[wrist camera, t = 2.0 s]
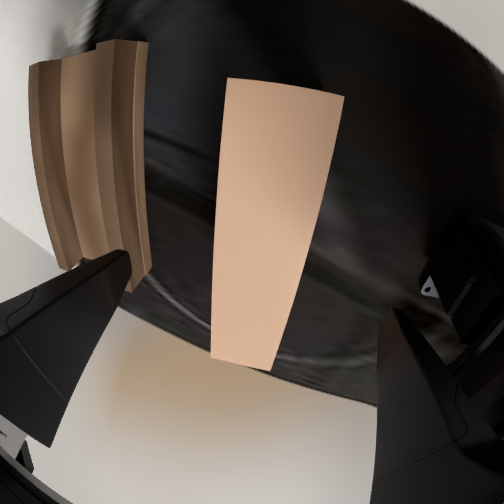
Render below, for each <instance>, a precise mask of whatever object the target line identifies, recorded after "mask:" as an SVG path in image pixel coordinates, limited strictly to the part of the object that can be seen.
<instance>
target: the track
mask: <svg viewBox="0 0 504 504" xmlns="http://www.w3.org/2000/svg"><path fill="white" fill-rule="evenodd" d="M148 44H149V43H147V42H140V41H138V42H137V41H129V40H120V39H113V40H109V41H104V42H100V43H97V45H96V50H92V51H88V52H85V53H81V54H77V55H74V56H70V57H67V58H64V59H59V60H50V61H42V62H38V63H35V64H33V65H31V66H29V84H28V101H29V124H30V137H31V146H32V155H33V162H34V169H35V175H36V181H37V186H38V191H39V196H40V201H41V205H42V210H43V214H44V218H45V222H46V226H47V229H48V233H49V236H50V240H51V243H52V247H53V250H54V253H55V256H56V259H57V262H58V265H59V268H61V269H64V270H66V271H70V270H71V269H72V268H73V267H74V266H75V265H76V264H77V263H78V262H79V261H80V260H81V259H82V258H83V257H85V258H88V259H92V260H94V259H96V258H98V257H100V256H103V255H105V254H107V253H109V252H112V251H114V250H116V249H122V250H126V251H128V252H129V254H130V260H131V265H132V275H131V278H130V280H129V282H128V284H127V286H126V288H125V291H128V292H131V293H132V292H133V291H134V289H135V288H136V287H137V285H138V284H139V282H140V281H141V280H142V278H143V277H144V276H145V275H147V273H148V272H149V271H150V269H151V268H152V262H151V254H150V245H149V235H148V225H147V213H146V198H145V180H144V95H145V77H146V64H147V53H148Z"/></svg>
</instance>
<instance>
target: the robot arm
mask: <svg viewBox="0 0 504 504" xmlns="http://www.w3.org/2000/svg"><path fill="white" fill-rule="evenodd" d="M462 216H464V218H463V219H462V220H461V217H462ZM131 275H132V265H131V260H130V254H129V252H128V251H126V250H122V249H116V250H114V251H112V252H109V253H107V254H105V255H103V256H100V257H98V258H96V259H94V260H91V261H89V262H87V263H85V264H83V265H80V266H78V267H76V268H74V269H72V270H70V271H67V272H65V273H63V274H61V275H59V276H57V277H55V278H53V279H51V280H49V281H47V282H45V283H42V284H40V285H38V286H37V287H34V288H32V289H30V290H28V291H27V292H24V293H22V294H20V295H18V296H16V297H14V298H11V299H9V300H7V301H5V302H2V303H0V504H72V503H71V502H70V501H68V500H66V499H65V498H63V497H62V496H60V495H59V494H58V493H56V492H55V491H53V490H52V489H51V488H49V487H48V486H46V485H45V484H44V483H42V482H41V481H40V480H39V479H37V478H36V477H35V476H34V475H32V472H33V470H34V467H33V463H32V460H31V457H30V453H29V449H28V445H27V441H26V440H25V438H26V436H27V434H28V435H29V436H31V437H32V438H34V439H35V440H37V441H39V442H40V443H42V444H43V445H45V446H47V447H48V448H50V447H51V445H52V442H53V440H54V437H55V435H56V432H57V429H58V427H59V424H60V422H61V419H62V417H63V415H64V413H65V410H66V408H67V405H68V403H69V401H70V398H71V396H72V394H73V392H74V390H75V388H76V385H77V383H78V381H79V379H80V377H81V375H82V373H83V371H84V369H85V366H86V365H87V363H88V361H89V359H90V357H91V355H92V353H93V351H94V349H95V347H96V345H97V343H98V341H99V339H100V337H101V336H102V334H103V332H104V330H105V328H106V327H107V325H108V323H109V321H110V319H111V318H112V316H113V314H114V312H115V310H116V308H117V306H118V304H119V302H120V299H121V297H122V295H123V293H124V291H125V288H126V286H127V284H128V282H129V280H130V278H131ZM426 287H428V288H426ZM425 288H426V289H425ZM420 290H421V293H422V294H423V295H427V296H432V297H437V298H440V300H441V302H442V305H443V307H444V310H445V312H446V315H447V317H449V318H451V321H452V323H453V326H454V328H455V331H456V334H457V337H458V340H459V342H460V344H466V347H467V348H466V349H465V350H464V351H463V352H462V353H461V354H460V355H459V356H458V357H457V358H456V359H455V360H454V361H453V362H452V363H451V364H448V365H447V366H446V365H445V364H444V362H443V361H442V360H441V358H440V357H439V356H438V354H437V353H436V352H435V350H434V349H433V348H432V346H431V345H430V344H429V342H428V341H427V340H426V339H425V337H424V336H423V335H422V333H421V332H420V331H419V330H418V328H417V327H416V326H415V325H414V324H413V322H412V321H411V320H410V319H409V317H408V316H407V315H406V314H405V313H404V311H403V310H401V309H397V308H390V309H389V311H388V312H387V314H386V316H385V317H384V319H383V320H382V322H381V324H380V326H379V337H378V357H377V435H376V452H375V465H374V475H373V483H372V491H371V498H370V504H504V226H502V225H500V224H498V223H495V222H493V221H491V220H489V219H486V218H484V217H482V216H479V215H477V214H475V213H472V212H470V211H467V210H465V209H460V210H458V211H457V212H456V214H455V216H454V219H453V221H452V223H451V226H450V228H449V230H448V232H447V234H446V237H445V239H444V240H443V242H442V244H441V246H440V248H439V250H438V252H437V254H436V256H435V258H434V260H433V262H432V264H431V266H430V268H429V270H428V272H427V274H426V276H425V278H424V280H423V281H422V283H421V285H420Z"/></svg>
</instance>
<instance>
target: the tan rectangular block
mask: <svg viewBox="0 0 504 504" xmlns="http://www.w3.org/2000/svg"><path fill="white" fill-rule="evenodd" d="M343 101H344V96H340V95H336V94H332V93H327V92H323V91H318V90H313V89H308V88H303V87H298V86H292V85H286V84H279V83H272V82H265V81H256V80H247V79H236V78H227V87H226V96H225V106H224V116H223V126H222V137H221V148H220V160H219V173H218V187H217V202H216V218H215V236H214V257H213V282H212V318H211V358H215V359H219V360H223V361H227V362H231V363H235V364H239V365H244V366H248V367H253V368H258V369H263V370H268V371H270V370H271V367H272V364H273V361H274V359H275V356H276V353H277V350H278V347H279V344H280V341H281V338H282V335H283V332H284V329H285V326H286V323H287V320H288V316H289V313H290V310H291V307H292V304H293V301H294V297H295V294H296V291H297V287H298V284H299V281H300V277H301V274H302V271H303V267H304V264H305V260H306V257H307V253H308V250H309V246H310V242H311V239H312V235H313V231H314V228H315V224H316V220H317V216H318V212H319V209H320V205H321V201H322V197H323V193H324V189H325V185H326V180H327V176H328V172H329V168H330V163H331V159H332V154H333V150H334V145H335V141H336V136H337V131H338V127H339V122H340V117H341V112H342V106H343Z"/></svg>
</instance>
